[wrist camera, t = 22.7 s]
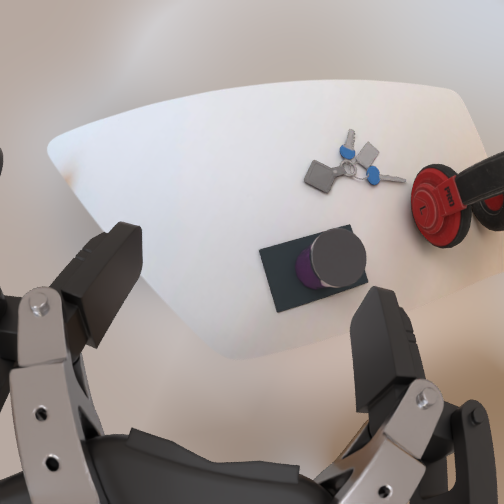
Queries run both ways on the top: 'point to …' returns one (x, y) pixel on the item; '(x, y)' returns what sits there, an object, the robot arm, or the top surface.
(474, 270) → the top surface
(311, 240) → the mat
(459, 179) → the headphones
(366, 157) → the key chain
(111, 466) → the robot arm
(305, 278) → the tin
